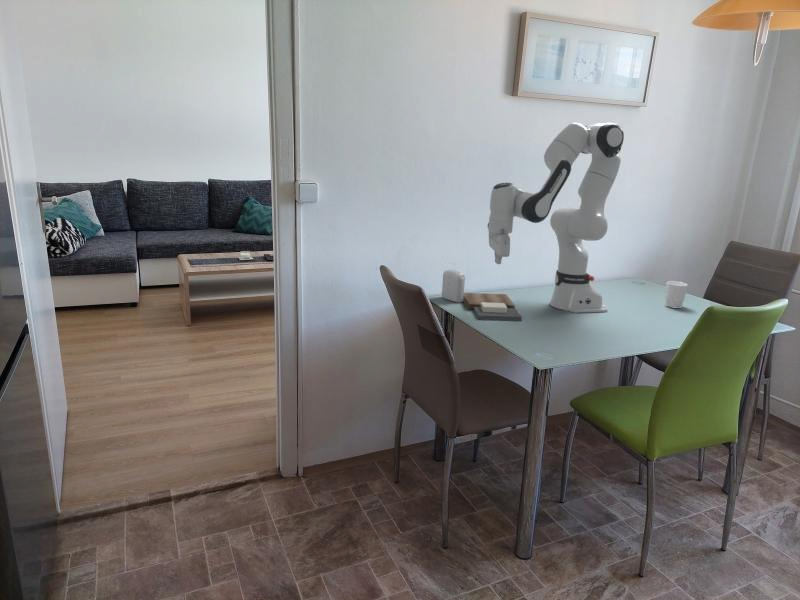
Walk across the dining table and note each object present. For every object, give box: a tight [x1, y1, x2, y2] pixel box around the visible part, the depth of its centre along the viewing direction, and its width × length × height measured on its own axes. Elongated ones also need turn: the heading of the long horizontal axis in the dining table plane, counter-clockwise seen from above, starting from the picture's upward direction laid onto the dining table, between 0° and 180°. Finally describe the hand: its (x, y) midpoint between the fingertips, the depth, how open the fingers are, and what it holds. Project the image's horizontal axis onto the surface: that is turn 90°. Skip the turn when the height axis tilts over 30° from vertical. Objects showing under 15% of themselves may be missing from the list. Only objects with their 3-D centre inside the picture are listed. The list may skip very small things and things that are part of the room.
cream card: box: [481, 302, 507, 313], centre depth 220 cm, size 9×6×2 cm, turn 91°
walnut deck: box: [463, 292, 516, 311], centre depth 232 cm, size 18×16×2 cm
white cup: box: [664, 280, 689, 308], centre depth 240 cm, size 8×8×10 cm
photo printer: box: [441, 269, 466, 304], centre depth 236 cm, size 10×4×12 cm, turn 37°
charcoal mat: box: [473, 307, 523, 322], centre depth 219 cm, size 16×11×2 cm
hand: (497, 263), depth 220 cm, fingers closed
